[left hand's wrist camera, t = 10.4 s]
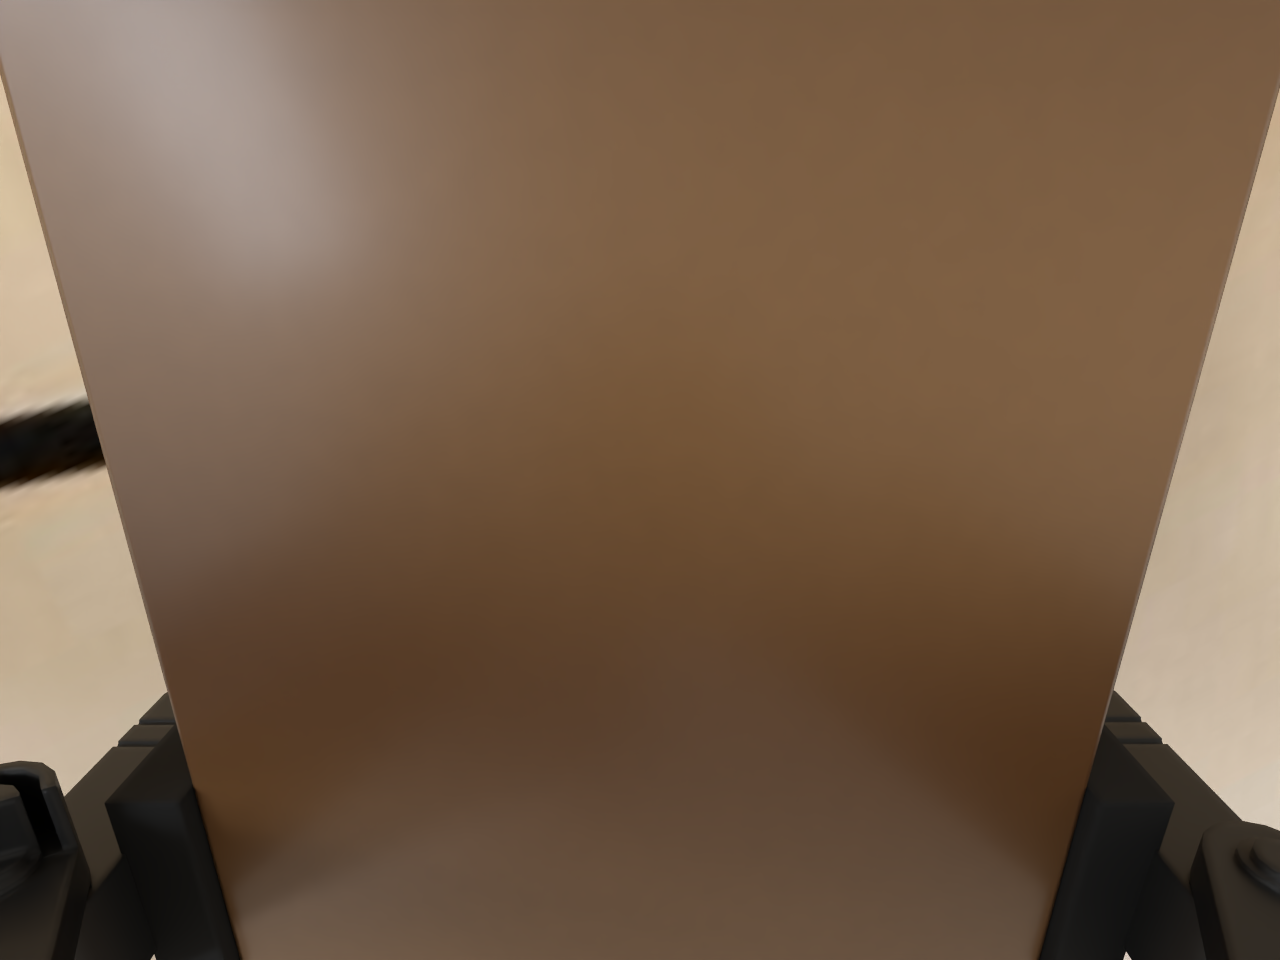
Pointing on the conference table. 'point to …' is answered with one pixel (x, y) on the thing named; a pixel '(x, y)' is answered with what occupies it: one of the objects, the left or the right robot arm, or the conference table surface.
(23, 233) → the conference table surface
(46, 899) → the left robot arm
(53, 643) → the conference table surface
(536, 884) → the brown wooden beam
